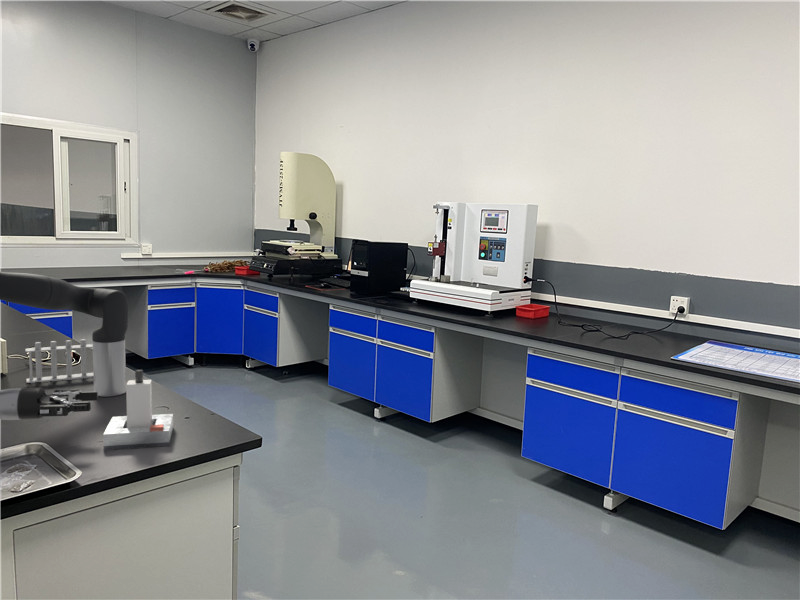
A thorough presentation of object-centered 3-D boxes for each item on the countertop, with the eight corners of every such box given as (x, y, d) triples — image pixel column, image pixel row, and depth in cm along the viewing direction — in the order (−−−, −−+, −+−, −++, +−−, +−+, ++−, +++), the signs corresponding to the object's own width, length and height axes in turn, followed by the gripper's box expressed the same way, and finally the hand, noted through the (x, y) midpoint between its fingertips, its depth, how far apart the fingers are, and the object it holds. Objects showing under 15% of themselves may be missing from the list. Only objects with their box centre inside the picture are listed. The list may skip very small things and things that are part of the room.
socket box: (112, 431, 157) (112, 413, 157) (173, 427, 162) (173, 411, 161) (103, 450, 145) (103, 431, 145) (169, 446, 149) (168, 427, 149)
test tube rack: (109, 373, 212) (108, 336, 210) (110, 376, 208) (109, 339, 206) (26, 380, 198) (24, 342, 196) (26, 384, 195) (24, 344, 193)
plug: (129, 432, 154) (128, 369, 152) (152, 431, 156) (151, 368, 154) (127, 438, 151) (126, 373, 148) (150, 436, 152) (149, 372, 150)
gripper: (9, 397, 137) (87, 394, 142) (28, 380, 151) (99, 378, 155) (11, 428, 138) (88, 425, 143) (29, 409, 152) (100, 406, 156)
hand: (94, 400), depth 149 cm, fingers open, 8 cm apart
